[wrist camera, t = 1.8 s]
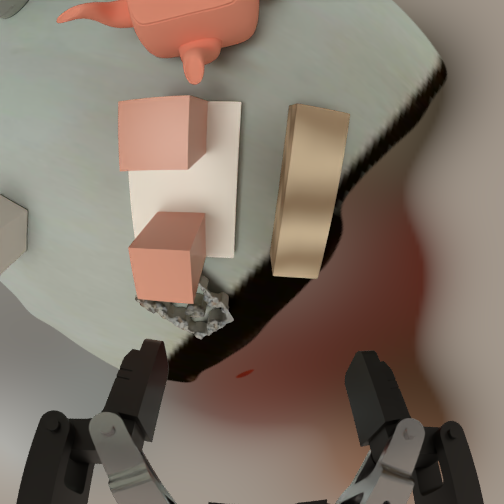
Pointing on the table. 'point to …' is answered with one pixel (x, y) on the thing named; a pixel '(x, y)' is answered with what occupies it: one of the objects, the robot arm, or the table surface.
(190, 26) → the teapot
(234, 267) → the table surface
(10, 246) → the milk carton
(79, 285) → the table surface
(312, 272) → the oak beam
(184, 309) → the egg carton
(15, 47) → the table surface
